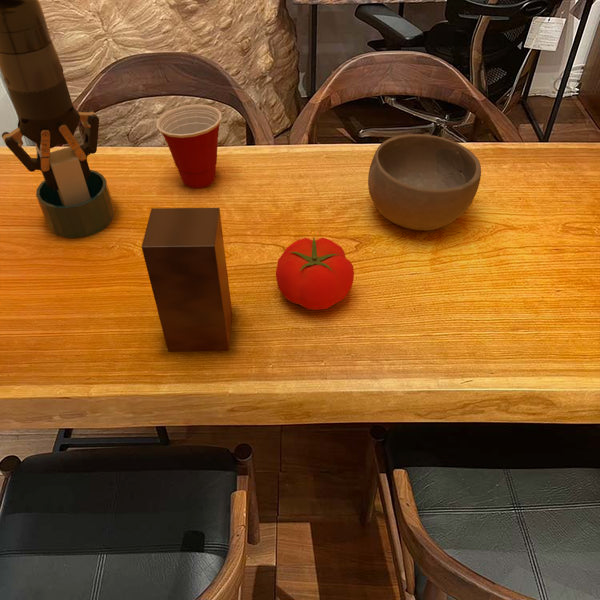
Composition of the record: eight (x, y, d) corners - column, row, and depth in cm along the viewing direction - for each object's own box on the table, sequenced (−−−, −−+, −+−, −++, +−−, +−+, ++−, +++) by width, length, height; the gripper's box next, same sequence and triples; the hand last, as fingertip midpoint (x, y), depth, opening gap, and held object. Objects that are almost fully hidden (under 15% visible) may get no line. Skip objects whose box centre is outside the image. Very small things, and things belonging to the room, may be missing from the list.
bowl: (467, 185, 103) (479, 134, 96) (472, 251, 91) (487, 198, 83) (368, 177, 105) (374, 126, 98) (361, 240, 92) (366, 187, 85)
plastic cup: (190, 156, 109) (181, 95, 101) (239, 172, 106) (234, 110, 97) (154, 186, 103) (141, 123, 94) (205, 203, 99) (196, 140, 90)
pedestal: (167, 351, 77) (141, 247, 64) (174, 312, 82) (151, 208, 69) (228, 350, 77) (214, 246, 64) (232, 311, 82) (219, 207, 69)
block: (72, 225, 94) (51, 166, 86) (64, 212, 96) (44, 153, 89) (96, 217, 96) (78, 158, 88) (88, 204, 98) (70, 146, 90)
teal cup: (58, 246, 91) (46, 215, 87) (40, 211, 98) (28, 181, 93) (123, 224, 95) (115, 193, 91) (102, 191, 102) (93, 161, 97)
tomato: (276, 268, 88) (275, 229, 83) (349, 267, 88) (352, 228, 83) (275, 320, 80) (274, 281, 75) (355, 319, 81) (359, 280, 75)
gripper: (78, 55, 84) (106, 159, 96) (-27, 78, 79) (17, 185, 91) (94, 75, 80) (122, 181, 92) (-15, 101, 74) (29, 210, 87)
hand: (69, 182), depth 92 cm, fingers closed on block, 4 cm apart
